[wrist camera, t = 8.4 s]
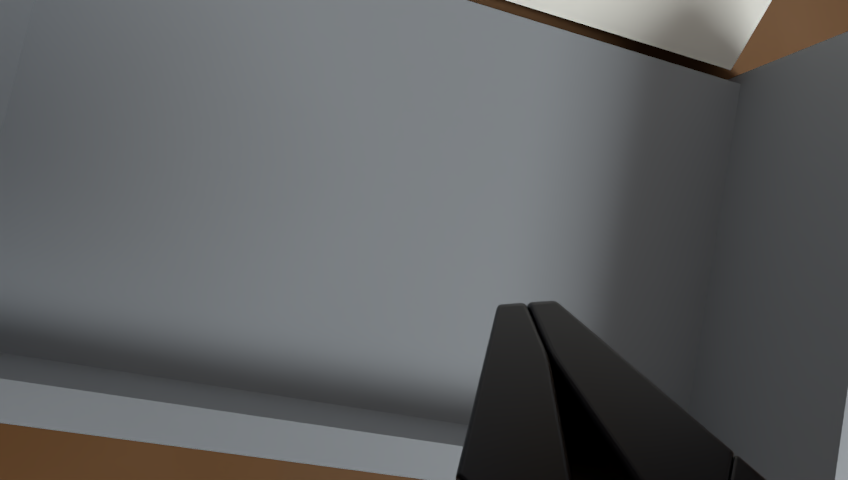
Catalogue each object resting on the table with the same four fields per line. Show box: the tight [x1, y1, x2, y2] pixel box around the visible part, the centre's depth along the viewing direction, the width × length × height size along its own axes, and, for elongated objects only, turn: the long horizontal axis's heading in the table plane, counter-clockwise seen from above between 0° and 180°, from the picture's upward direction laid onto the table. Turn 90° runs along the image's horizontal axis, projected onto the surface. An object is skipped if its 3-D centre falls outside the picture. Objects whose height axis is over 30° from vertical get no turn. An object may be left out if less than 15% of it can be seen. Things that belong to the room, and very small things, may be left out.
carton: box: [0, 0, 848, 480], centre depth 18 cm, size 15×25×7 cm, turn 78°
